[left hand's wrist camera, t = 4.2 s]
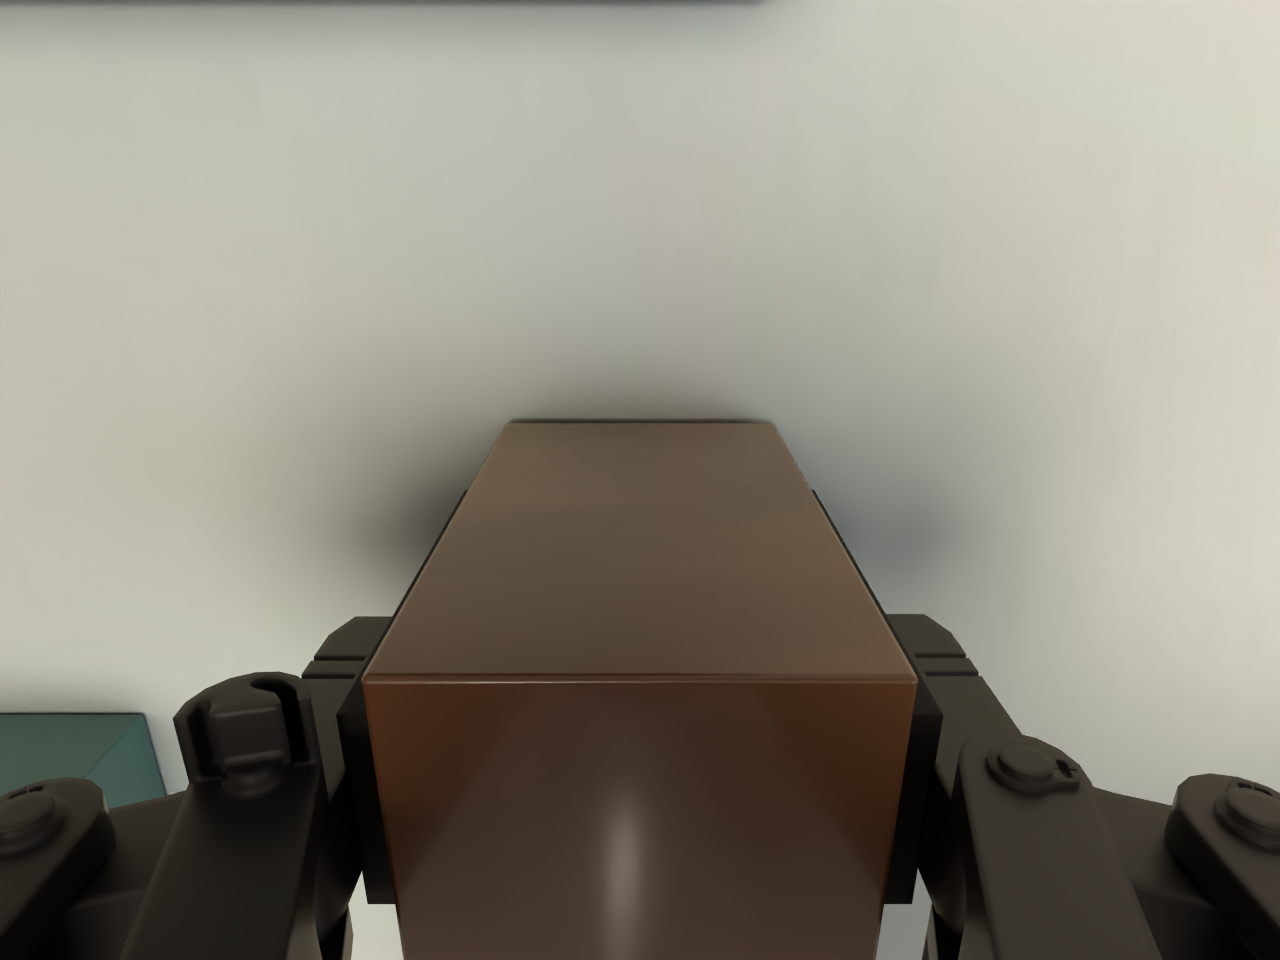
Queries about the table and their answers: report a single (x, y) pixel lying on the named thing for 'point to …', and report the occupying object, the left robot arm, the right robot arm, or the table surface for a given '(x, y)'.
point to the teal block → (80, 754)
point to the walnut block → (639, 710)
